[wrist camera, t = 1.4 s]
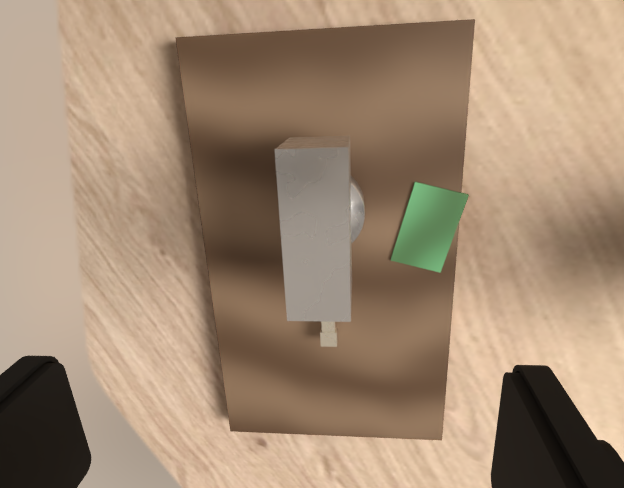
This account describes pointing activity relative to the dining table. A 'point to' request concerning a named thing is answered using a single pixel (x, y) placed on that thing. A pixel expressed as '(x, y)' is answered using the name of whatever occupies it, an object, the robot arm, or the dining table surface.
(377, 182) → the board
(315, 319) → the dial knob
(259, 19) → the dining table surface
